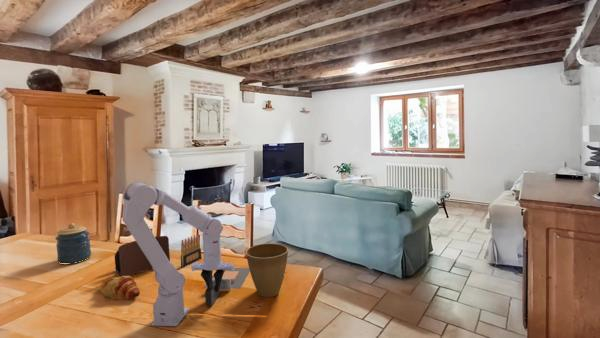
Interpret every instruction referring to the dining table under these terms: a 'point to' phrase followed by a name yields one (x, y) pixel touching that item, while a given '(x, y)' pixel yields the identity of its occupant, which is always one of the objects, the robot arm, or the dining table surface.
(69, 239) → the canister
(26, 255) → the dining table surface
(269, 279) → the plant pot
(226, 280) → the turner
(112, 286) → the croissant
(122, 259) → the letter holder
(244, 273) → the mat
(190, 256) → the ammunition clip
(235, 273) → the tile
